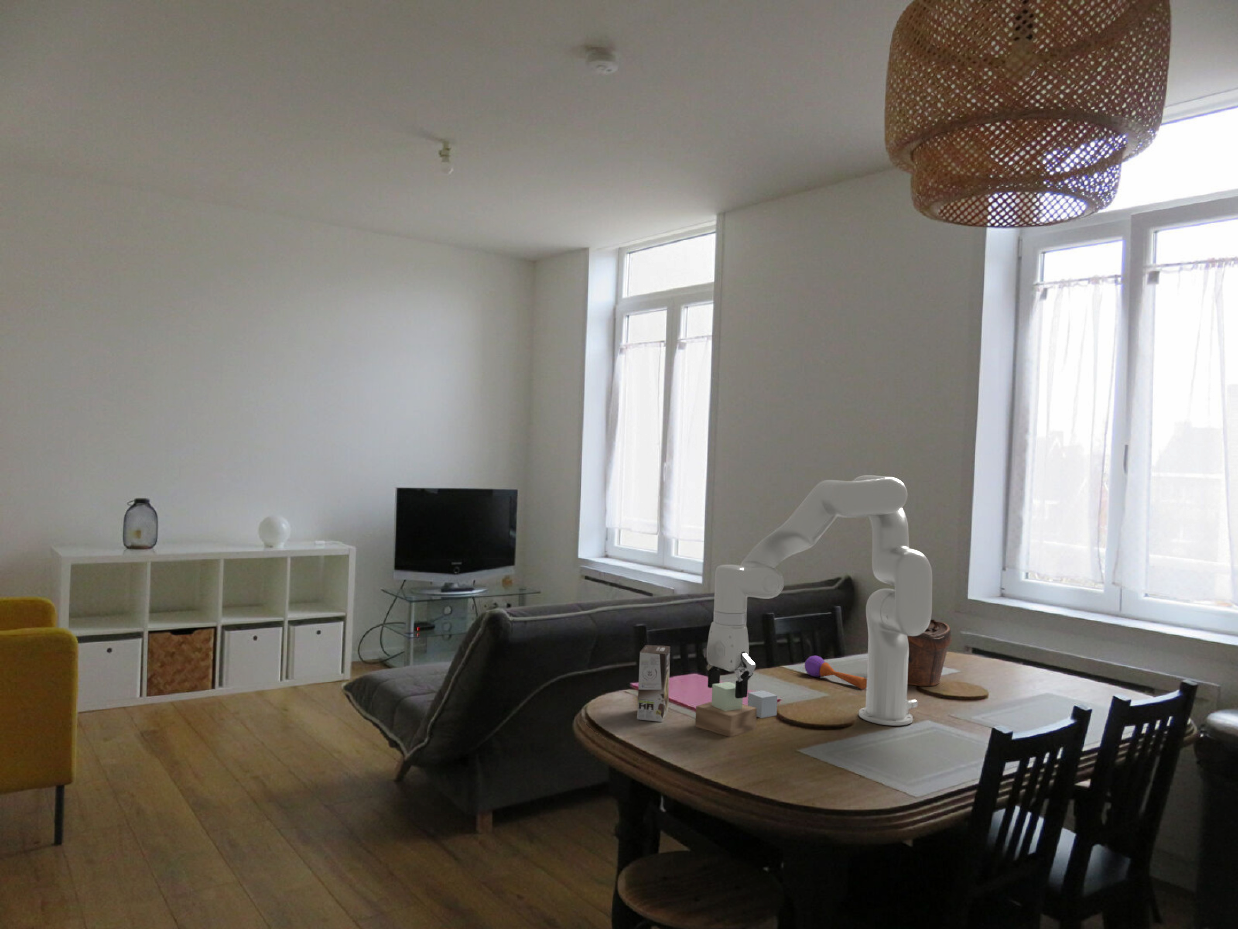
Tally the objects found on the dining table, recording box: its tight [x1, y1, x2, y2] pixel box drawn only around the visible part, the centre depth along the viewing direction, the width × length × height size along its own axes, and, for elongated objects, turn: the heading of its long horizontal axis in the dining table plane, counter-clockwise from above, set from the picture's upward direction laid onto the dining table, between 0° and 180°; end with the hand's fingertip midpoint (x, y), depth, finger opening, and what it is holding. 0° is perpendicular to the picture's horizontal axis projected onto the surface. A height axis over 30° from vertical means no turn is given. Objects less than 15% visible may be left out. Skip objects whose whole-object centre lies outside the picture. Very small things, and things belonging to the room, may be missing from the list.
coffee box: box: [636, 644, 671, 723], centre depth 213 cm, size 9×6×16 cm
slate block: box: [747, 689, 778, 719], centre depth 218 cm, size 5×5×5 cm
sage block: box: [711, 681, 744, 711], centre depth 206 cm, size 5×5×5 cm
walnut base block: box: [695, 701, 757, 738], centre depth 206 cm, size 10×10×5 cm
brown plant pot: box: [907, 618, 952, 687], centre depth 256 cm, size 18×20×18 cm
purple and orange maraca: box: [804, 655, 867, 690], centre depth 252 cm, size 6×6×20 cm
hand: (727, 692), depth 206 cm, fingers open, 9 cm apart
